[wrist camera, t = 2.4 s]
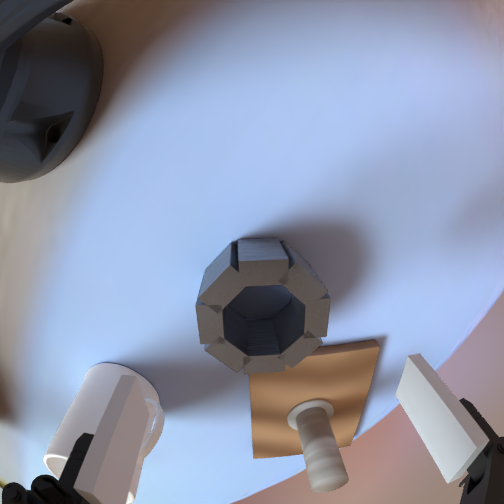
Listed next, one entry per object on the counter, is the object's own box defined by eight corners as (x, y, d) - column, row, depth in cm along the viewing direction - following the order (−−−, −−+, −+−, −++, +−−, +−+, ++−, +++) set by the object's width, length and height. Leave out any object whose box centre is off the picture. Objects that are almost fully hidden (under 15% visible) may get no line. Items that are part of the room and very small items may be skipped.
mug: (152, 341, 24) (112, 448, 13) (202, 403, 26) (192, 505, 15) (71, 372, 25) (24, 452, 14) (119, 424, 27) (92, 504, 16)
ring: (200, 240, 22) (190, 263, 17) (312, 236, 22) (333, 256, 17) (209, 337, 24) (205, 375, 19) (308, 331, 24) (322, 367, 20)
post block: (248, 352, 25) (255, 445, 15) (375, 339, 25) (425, 412, 16) (252, 451, 29) (258, 520, 20) (347, 438, 30) (370, 501, 20)
